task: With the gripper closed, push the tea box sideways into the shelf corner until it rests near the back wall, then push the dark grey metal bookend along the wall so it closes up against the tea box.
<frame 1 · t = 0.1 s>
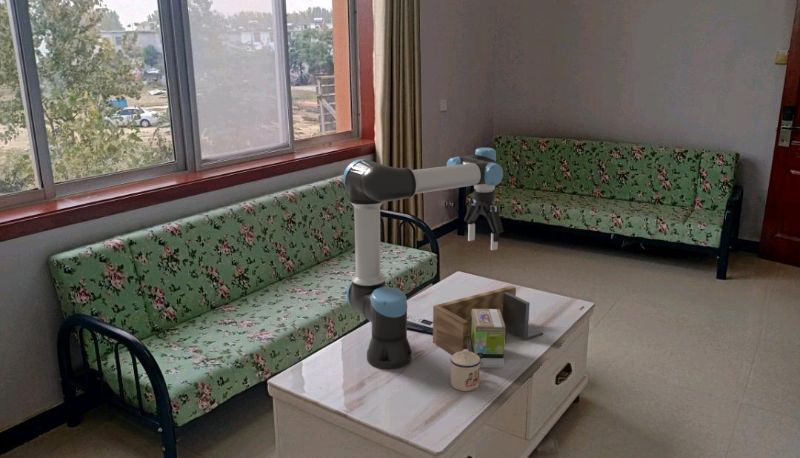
hand: (482, 244, 240), 28 cm above the table, tool pointing down, fingers open, 13 cm apart
tea box: (486, 357, 212), on the table
teacup with lid: (467, 383, 196), on the table
bookend: (523, 313, 229), point 7 cm above the table, slide at 0.0 cm
shelf: (476, 332, 230), on the table
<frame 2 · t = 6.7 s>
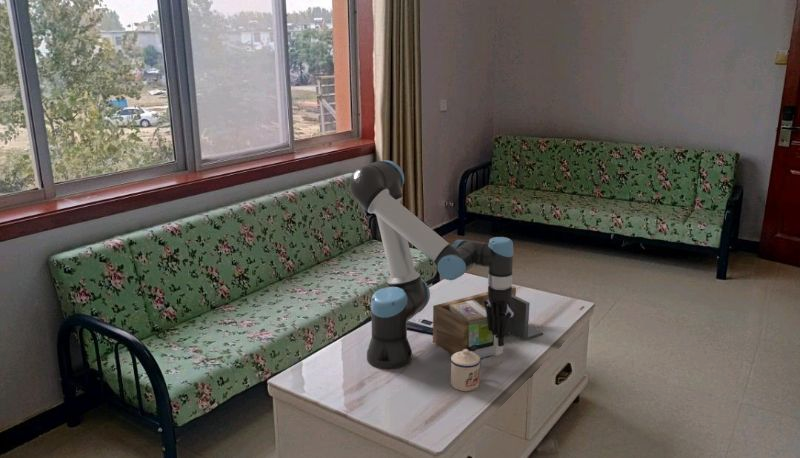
hand: (498, 353, 207), 4 cm above the table, tool pointing down, fingers closed
tea box: (472, 348, 218), on the table, touching hand, shelf
everything else where it was.
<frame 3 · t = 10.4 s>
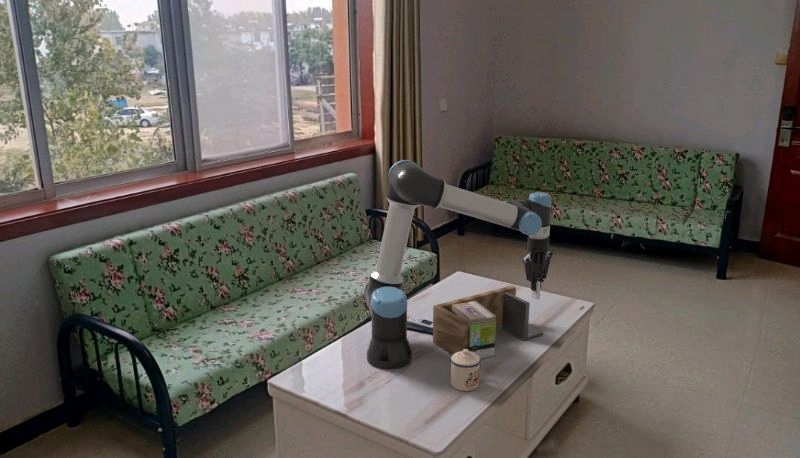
hand: (535, 298, 231), 12 cm above the table, tool pointing down, fingers closed
tea box: (472, 349, 218), on the table
everything else where it was.
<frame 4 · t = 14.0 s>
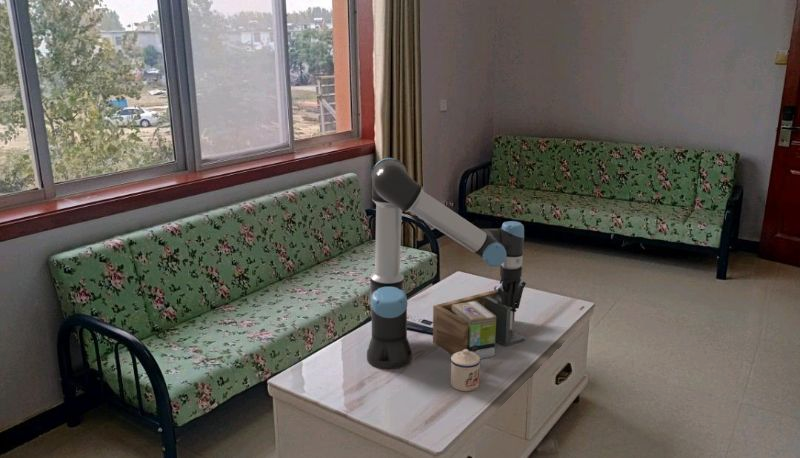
hand: (507, 327, 227), 3 cm above the table, tool pointing down, fingers closed
bookend: (505, 318, 225), point 7 cm above the table, slide at 8.7 cm, touching hand
everything else where it was.
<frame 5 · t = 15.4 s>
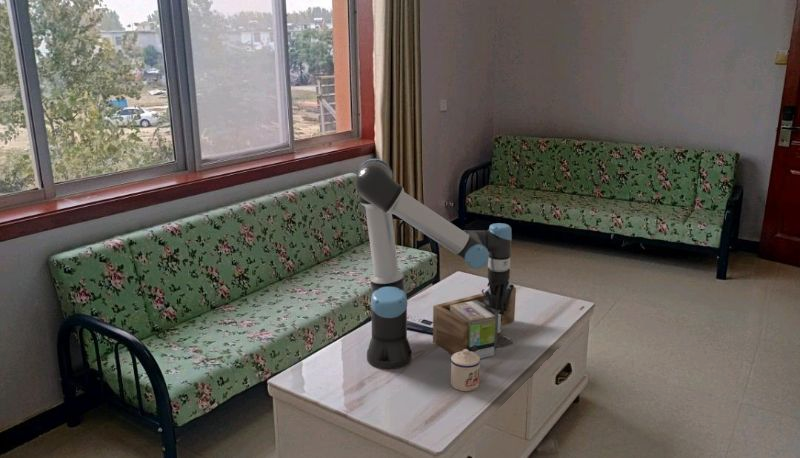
hand: (496, 330, 224), 3 cm above the table, tool pointing down, fingers closed
tea box: (471, 349, 218), on the table, touching bookend
bookend: (493, 322, 222), point 7 cm above the table, slide at 14.1 cm, touching hand, tea box
everything else where it was.
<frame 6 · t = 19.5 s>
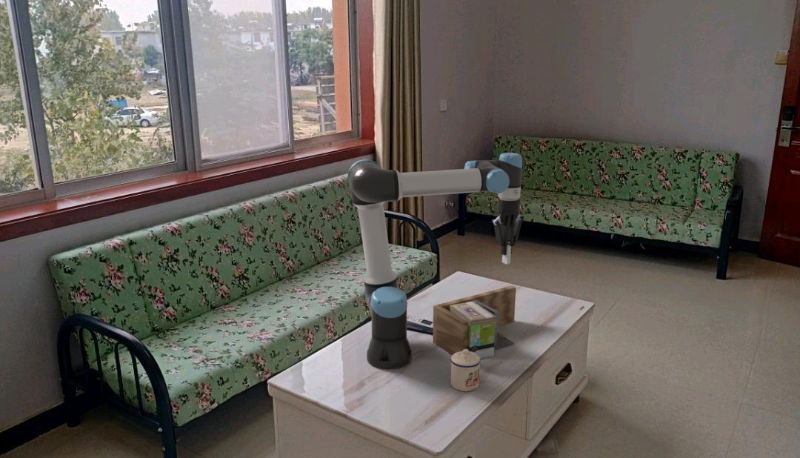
hand: (506, 263, 224), 26 cm above the table, tool pointing down, fingers closed
tea box: (470, 350, 218), on the table
bookend: (493, 322, 222), point 7 cm above the table, slide at 14.1 cm
everything else where it was.
at the end: tea box inside the target area (1.1 cm from its centre), on the table; tea box tilted 0°; bookend slide at 14.1 cm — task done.
